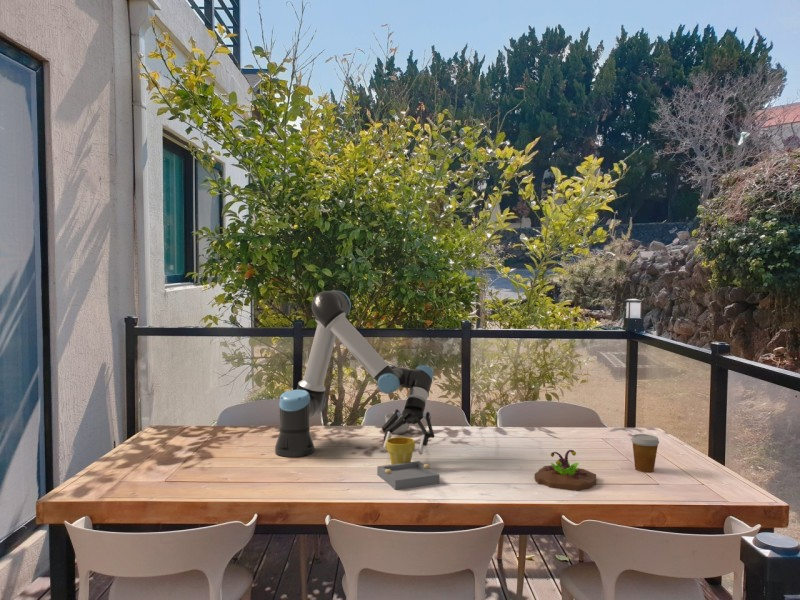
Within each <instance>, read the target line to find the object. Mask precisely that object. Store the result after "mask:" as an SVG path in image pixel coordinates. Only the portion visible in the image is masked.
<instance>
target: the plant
mask: <svg viewBox="0 0 800 600" xmlns="http://www.w3.org/2000/svg"><path fill="white" fill-rule="evenodd" d="M569 453H571V455H573V456H576V455H577V452H576V451H575V450H573V449H568V450H567V451H566V452H565V455H564V457H563V456H562V454H560V453H559V452H557V451H554V452H550V457H552V458H553V457H555V454H556V455H557V456H558V457H559V459H557V460H556V461H555V463H553V462H551V463H549V464H550V465H545V466H543V467H541V468H539V470H538V471H537V472H535V473H534V480H535V482H536V483H537V485H543V486H546V487H548V488H551V489H557V490H565V491H572V492H580V491H585V490H591V489H592V488H594V487H595V486H596V485H597V474H596V473H594V472H591V471H589V470H588V469H584V468H580V467H578V466H579V462H574V463H572V464H571V465H570V461H569Z"/></svg>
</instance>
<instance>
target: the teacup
mask: <svg viewBox="0 0 800 600" xmlns="http://www.w3.org/2000/svg"><path fill="white" fill-rule="evenodd" d="M394 413H395V411H393V412H389V413H386V414H385V416H384V417H385V423H386V422H387V421H388V420H389V419H390V418H391V417H392V416H393V414H394ZM400 417H402V415H401V416H400ZM400 417H398V419H397V420H399V419H400ZM397 420H396V421H397ZM396 421H395V422H396ZM403 421H404V419H403ZM409 428H410V424H407V423H405V424H404V425H401V426H400V427H399V428H397V429H396V430H395V431H393V432H392V433H391V435H392V434H393V435H401V434H404V433H406V432H407V431H408V430H409Z"/></svg>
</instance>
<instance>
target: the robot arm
mask: <svg viewBox="0 0 800 600" xmlns="http://www.w3.org/2000/svg"><path fill="white" fill-rule="evenodd" d="M351 303H352V302H351V300H350V298H349V296H348V295H347V293H344V292H343V291H341V290H336V289H333V290H323V291H321V292H318V293H317V294H316V295H314V297H313V299H312V300H311V310H312V313H313V315H314V317H315V318H314V320H315V322H316V323H317V325H316V329H315V333H314V336H313V341H312V344H311V348H310V352H309V357H308V359H307V365H306V367H305V372H304V374H303V379H302V380H300V381H298V383H297V387H296V389H291V390H287V391H285V392H283V393H282V394H280V396H279V403H278V406H279V434H278V437H277V438H276V439H277V440H276V443H275V446H274V454H276V455H277V456H281V457H286V458H287V457H288V458H296V457H297V458H298V457H305V456H308V455H312V453H314V451H315V445H314V441H313V438H312V434H311V432H310V431H311V430H310V428H311V427H310V419H312V418H313V417H315V416H317V415H319V414H320V413H321V412H322V410H324V408H325V406H326V401H327V400H326V395H325V394H326V390H327V389H326V386H325V385H324V384H325V381H326V377H327V373H328V368H329V366H330V361H331V357H332V354H333V350H334V345H335V342H336V339H338V341H340V342H341V344H342V345H343V347H345V348H346V350H348V351H349V353H351V355H352V356H353V357H354V358H355V359H356V360H357V361H358V362H359V363H360V365H361V366H362V367H363V368H364V369H365V370H366V371H367V373H368V374H369V375H370V376H371V377H372V378H373V379H374V380H375V381H376V383H377V388H378V389H379V391H380V392H381V393H384V394H392V393H394V392H396V391H398V389H400V388H406V389H409V392H408V394H407V395H408V396H407V397H406V402H405V403H404V404H405V405H404V409H403V410H402V411H401V410H399V409H398V408H396V409H395V410H394V412H395V413H394V414H393V416H392V417H391V418H390V419H389V420H388V421H387V422H386V421H385V422H384V425H382V427H381V430H382V431H383V433H384V435H383V441H384V443H383V446H382V447H383V450H384V451H387V446H386V441H387V440H388V439H390V438H392V437H393V436H392V432H393V431H395V430H396V429H397V428H399V427H400V426H401V425H404V424H405V423H407V424H409V425H410V424H412V425H416V424H417V425H418V426H419V428H420V430H421V431H422V433H423V434H422V435H421V439H420V443H419V446H418V453H419V455H420V456H422V455H423V452H424V450H425V449H424V448H425V447H426V446H427V445H428V442H429V439H430V438H432V439H433V438H434V437H435V434H434V429H433V426H432V421H431V419H432V416H431V414H430V412H429V411H427V412H426V413H425V412H424V411H425V409H426V404H427V401H428V398H429V393H430V391H431V387H432V383H433V378H434V374H435V373H434V370H433V369H432V368H431V367H430V366H428V365H424V364H422V365H418V366H417V367H416V368H415V369H408V368H404V367H400V366H399V367H398V366H395V365H393V366H392V365H389V364H388V362H386V361H385V359H384V358H382V357H383V356H381V355H380V354H379V352H377V350H376V349H375V348H374V347H373V345H371V344H370V342H368V341H367V340H366V338H365V337H364V336H363V335H362V334H361V333H360V331H358V330H357V328H356V327H355V326H354V325H353V324H352V323H351V322H350V321H349V320H348V318H347V316H348V315H349V313H350V311H351V309H352V305H351ZM401 415H402V417H400V416H401ZM398 417H400V419H399V420H397V419H398ZM423 418H424V420H425V421H426V425H427V429H428V431H427V429H426V428H425V426H424V424H423V423H422V421H421V420H422V419H423ZM403 419H404V421H403ZM396 420H397V421H396ZM395 421H396V422H395ZM387 452H388V451H387Z"/></svg>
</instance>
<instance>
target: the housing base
mask: <svg viewBox="0 0 800 600" xmlns="http://www.w3.org/2000/svg"><path fill="white" fill-rule="evenodd" d="M376 467H377V469H376V470H377V472H376V473H377V474H376V475H377V476H378V477H379V478H380V479H382V480H383V481H384V482H385V483H387V484H388V485H389V486H390V487H392V488H393V490H402V489H408V488H409V489H410V488H417V487H423V486H430V485H436V484H437V485H438V484H440V473H438V472H436V471H435V470H433V469H431V468H430V464H429V463H425V464H424V463H422V462H421V461H420V460H417V461H411V462H407V463H399V464H391V463H390V464H385V465H377V466H376Z"/></svg>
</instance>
